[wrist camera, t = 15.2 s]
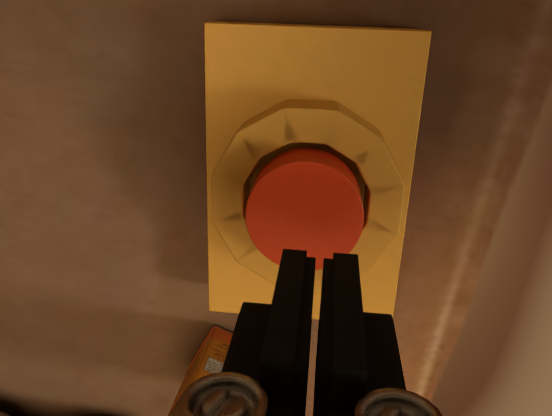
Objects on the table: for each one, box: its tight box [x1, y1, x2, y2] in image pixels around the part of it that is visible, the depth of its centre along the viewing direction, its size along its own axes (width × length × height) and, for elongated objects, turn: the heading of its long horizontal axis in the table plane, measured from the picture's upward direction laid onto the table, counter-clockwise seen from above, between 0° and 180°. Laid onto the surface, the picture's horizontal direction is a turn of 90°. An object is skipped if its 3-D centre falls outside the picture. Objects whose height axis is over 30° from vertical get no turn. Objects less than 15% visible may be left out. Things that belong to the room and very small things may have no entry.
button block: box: [204, 21, 431, 319], centre depth 20 cm, size 8×12×4 cm, turn 178°
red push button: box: [245, 148, 364, 270], centre depth 18 cm, size 4×4×2 cm
